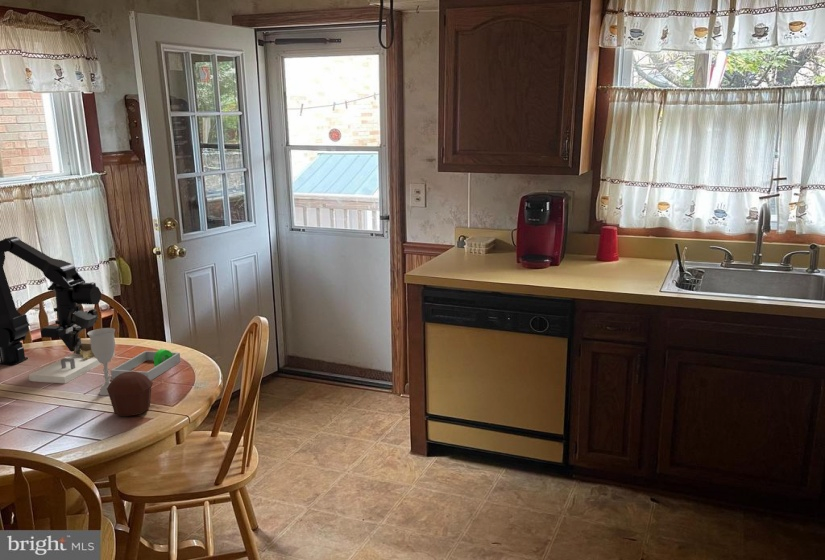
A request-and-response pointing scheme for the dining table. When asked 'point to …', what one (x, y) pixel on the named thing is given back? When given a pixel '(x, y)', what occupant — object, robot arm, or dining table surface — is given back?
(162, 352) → the mechanical part
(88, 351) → the bolt
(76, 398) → the dining table surface
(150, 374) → the frame
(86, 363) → the door board
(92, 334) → the chalice
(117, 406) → the muffin
